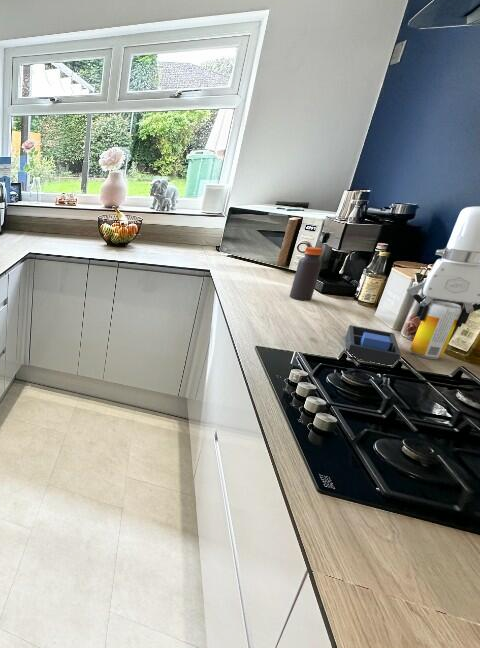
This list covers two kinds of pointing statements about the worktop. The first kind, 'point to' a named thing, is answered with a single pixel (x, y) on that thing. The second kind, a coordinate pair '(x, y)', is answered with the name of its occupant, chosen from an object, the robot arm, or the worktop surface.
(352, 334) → the sorting tray
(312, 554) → the worktop surface
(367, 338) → the blue block
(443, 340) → the beer can
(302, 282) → the bottle
